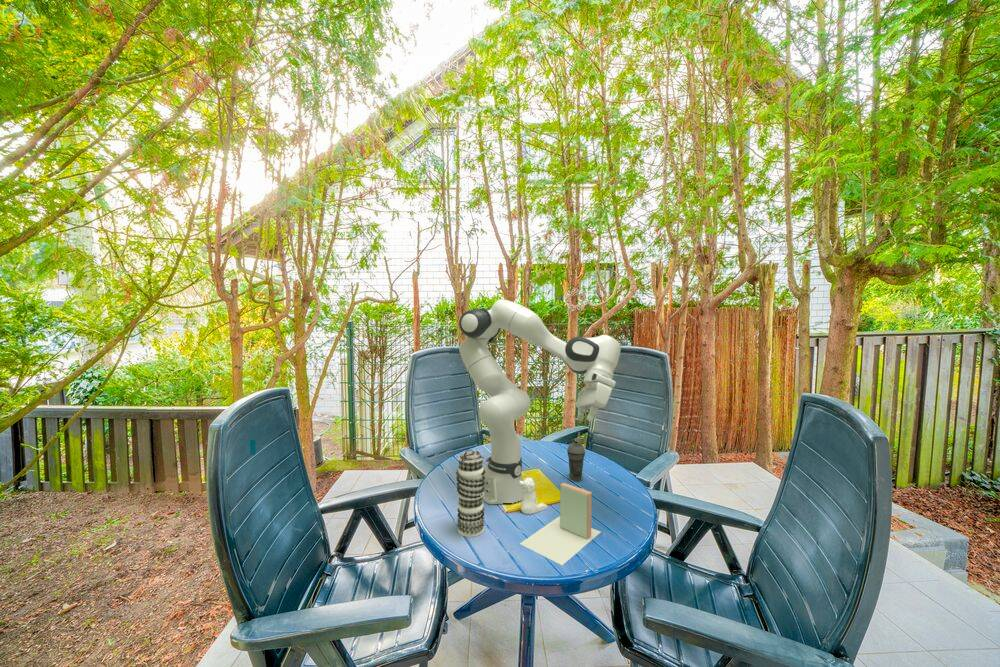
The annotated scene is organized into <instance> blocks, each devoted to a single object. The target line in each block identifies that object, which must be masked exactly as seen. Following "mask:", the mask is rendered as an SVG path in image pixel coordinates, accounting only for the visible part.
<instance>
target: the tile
mask: <svg viewBox="0 0 1000 667" xmlns="http://www.w3.org/2000/svg"><path fill="white" fill-rule="evenodd" d="M559 486H560V490H559V493H560V494H559V496H560V497H559V516H560V528H562V529H565V530H567V531H569V532H572V533H574V534H576V535H579V536H581V537H583V538H585V539H589V538H590V537H591V528H592V508H593V506H592V505H593V504H592V503H593V502H592V500H593V493H592V491H589V490H587V489H584V488H581V487H578V486H574V485H572V484H568V483H566V482H563V483H560V485H559Z"/></svg>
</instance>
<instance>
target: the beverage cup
mask: <svg viewBox="0 0 1000 667" xmlns="http://www.w3.org/2000/svg"><path fill="white" fill-rule="evenodd" d="M580 435H581V432H580V431H578V436H577V440H576V441H572V442H571V443H570V444H569V445H568V447H567V450H566V452H567V457H568V467H569V470H568V471H569V477H570V478H569V479H570V480H571V481H572V480H573V482H576V481H577V482H581V481H582V476H583V470H584V469H583V468H584V459H585V456H586V451H585V450H586V449H585V445H583V444H582V443H581V442H579V441H580ZM580 480H581V481H580Z"/></svg>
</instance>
